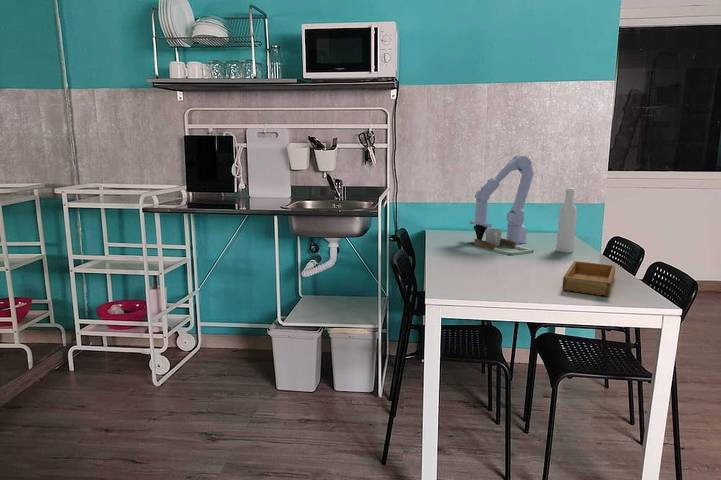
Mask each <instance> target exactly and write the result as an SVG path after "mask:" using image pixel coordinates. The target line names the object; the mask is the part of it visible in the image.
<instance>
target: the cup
mask: <svg viewBox="0 0 721 480" xmlns="http://www.w3.org/2000/svg"><path fill="white" fill-rule="evenodd" d="M502 233H503V231H502V229H500V228H492V227H491V228H487V229H485V233H484V235H485V241H487V242H491V243H494V244H496V247H498V246H500V245H499V244H500V239H501V238H502Z"/></svg>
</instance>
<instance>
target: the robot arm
mask: <svg viewBox="0 0 721 480" xmlns="http://www.w3.org/2000/svg"><path fill="white" fill-rule="evenodd" d="M513 171H518V172H519V174H520V175H521V177H520V181H519V184H518V188H517V190H516V191H517V192H516V195H515V197H514V201H513V204H512V206H511V207H510V210H509V211H508V213H507V215H506V221H507V225H506V226H507V227H506V238H505V239H506V240H510V241H514V242H516V245H517V244H525V243H528V242H527V227H526V226H525V225H524V224H523V223H524V222H525V221H524V220H525V209H524V208H525V204H526V200H527V197H528V193H529V190H530V188H531V184H532V181H533V178H534V177H533V176H534V170H533V166H532V160H531V159H530V158H529V157H528V156H527V155H520V154H519V155H518V154H517V155H515V156H513V157H512V159H510V160H509V161H508V162H507V163H506V164H505V166H504V167H503V168H502V169H501V170H500V171H499V172H498V173H497V175H495V176H494V177H492V178H489V179H487V180H486V183H485V184H484V185H483V186H481V187H480V189H478V190H477V191H476V192H475V194H474V198H475V214H474V215H475V216H474V219H470V220H469V224H470V225H473V229H474V231H475V235H476V239H480V240H483V239H484V235H485V229H489V228H492V227H493V226H492V223H489V222H488V221H487V218H488V200H490V196H491V195H492V194H493V193H494V192H495V191H496V190H498V188H499V187H500V183H501V182H502V181H503V180H504V179H505V178H506V177H507V176H508V175H509V174H510V173H512V172H513Z"/></svg>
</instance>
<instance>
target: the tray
mask: <svg viewBox="0 0 721 480" xmlns="http://www.w3.org/2000/svg"><path fill="white" fill-rule="evenodd" d="M615 274H616V265H615V264H605V263H604V264H603V263H596V262H587V261H577V260H574V261H573V262H572V263H571V265H570V266H569V268H568V270H567V271H566V273H565V274H564V275H563V277H562V287H561V289H562V291H564V290H567V291H566V292H571V291H574V292H573V293H579V292H581V293H580V294H587V293H589V294H588V295H594V294H596V295H595V296H601V295H604V296H603V297H610V293H611V290H610V289H612V286H613V283H614V279H615ZM612 282H613V283H612Z"/></svg>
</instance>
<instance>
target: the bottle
mask: <svg viewBox="0 0 721 480" xmlns="http://www.w3.org/2000/svg"><path fill="white" fill-rule="evenodd" d="M574 197H575V188H573V187H567V188H566V189H565V198H564V203H563V204H561V206H560V208H559V210H558V211H559V212H558V222H557V232H556V233H557V234H556V245H555V250H556V252H560V253H564V254H565V253H569V254H570V253H573V252H574V250H575V249H574V248H575V237H576V228H577V227H576V225H577V218H578V217H577V216H578V209H577V206H576V205H575V204H574V199H575V198H574Z"/></svg>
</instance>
